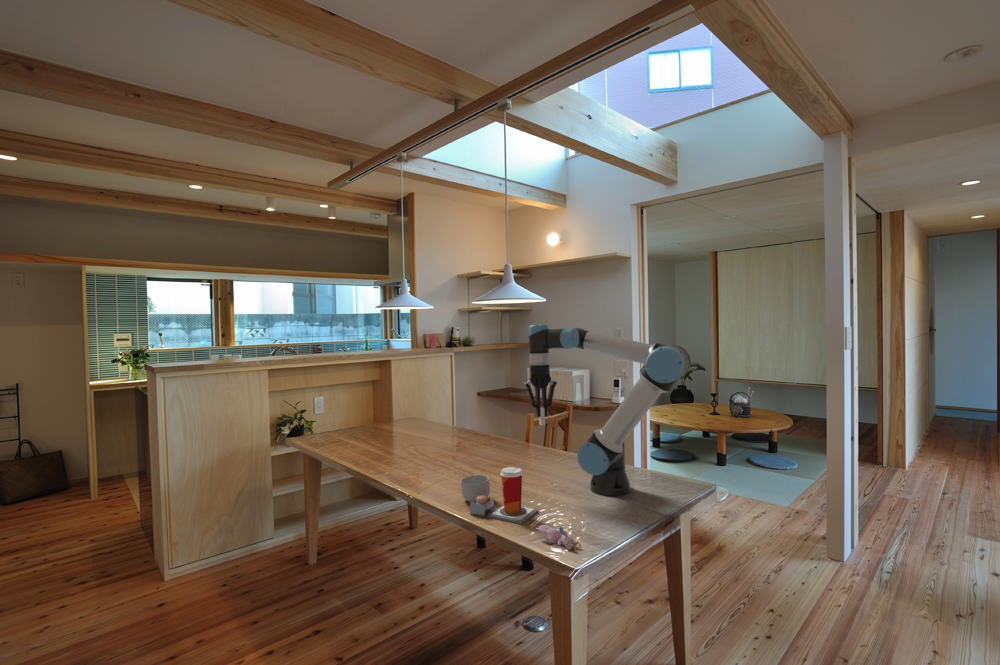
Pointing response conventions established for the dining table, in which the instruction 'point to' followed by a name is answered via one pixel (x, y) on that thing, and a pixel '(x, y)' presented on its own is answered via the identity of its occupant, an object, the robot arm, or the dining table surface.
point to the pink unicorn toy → (559, 537)
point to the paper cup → (512, 489)
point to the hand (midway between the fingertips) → (542, 424)
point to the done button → (481, 499)
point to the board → (513, 515)
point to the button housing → (482, 507)
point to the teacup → (475, 486)
